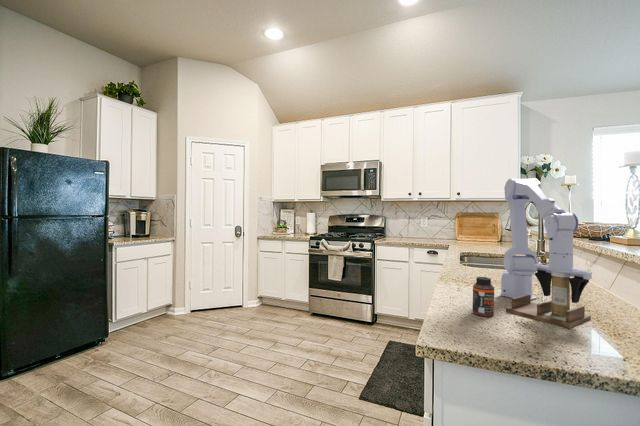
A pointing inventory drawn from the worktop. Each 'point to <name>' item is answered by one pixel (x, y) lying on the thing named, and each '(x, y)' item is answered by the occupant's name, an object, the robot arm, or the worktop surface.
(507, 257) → the robot arm
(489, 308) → the supplement bottle
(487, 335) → the worktop surface
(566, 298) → the sprinkles bottle
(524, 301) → the slot rack
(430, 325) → the worktop surface
